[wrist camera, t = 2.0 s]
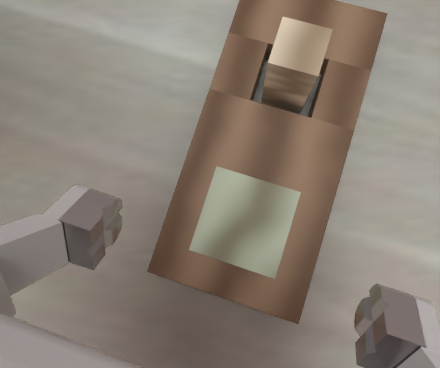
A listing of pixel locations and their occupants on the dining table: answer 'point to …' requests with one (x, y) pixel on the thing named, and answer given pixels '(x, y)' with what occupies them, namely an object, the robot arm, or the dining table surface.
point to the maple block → (294, 64)
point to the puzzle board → (266, 163)
